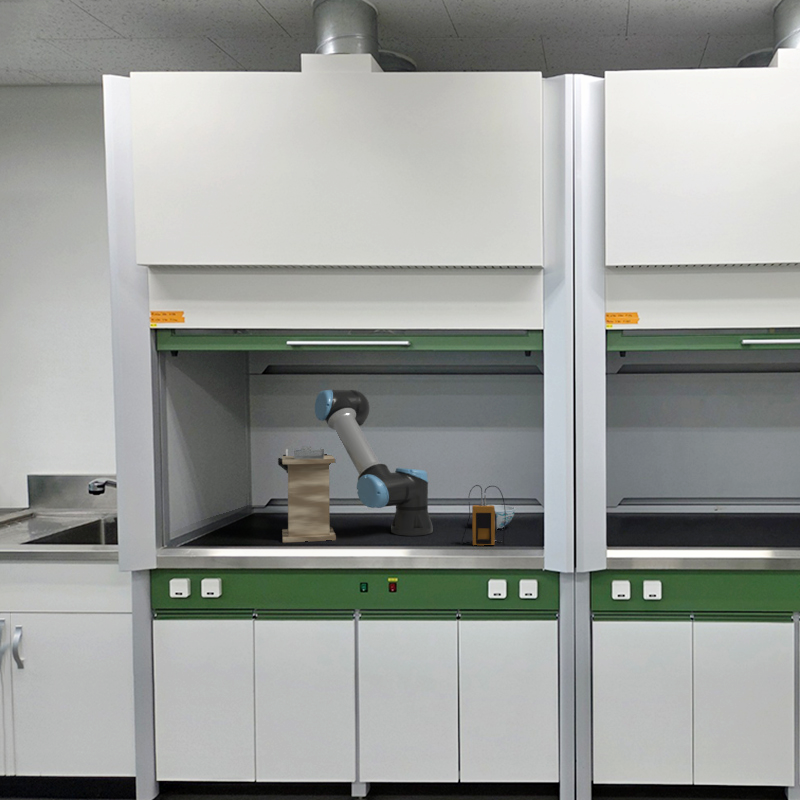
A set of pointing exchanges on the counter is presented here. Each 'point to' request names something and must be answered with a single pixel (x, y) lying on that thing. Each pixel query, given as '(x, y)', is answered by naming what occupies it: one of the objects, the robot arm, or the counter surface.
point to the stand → (308, 500)
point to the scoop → (308, 453)
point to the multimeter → (484, 522)
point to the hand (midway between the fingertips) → (305, 452)
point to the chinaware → (503, 514)
